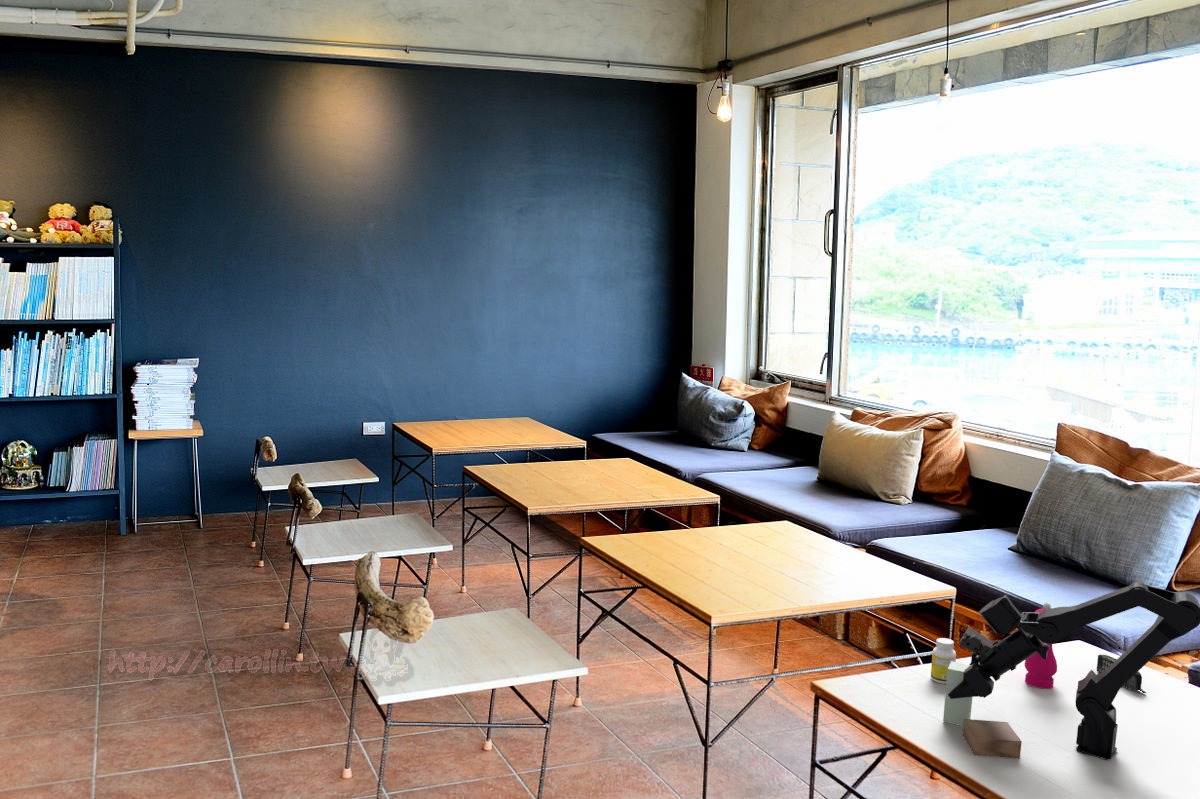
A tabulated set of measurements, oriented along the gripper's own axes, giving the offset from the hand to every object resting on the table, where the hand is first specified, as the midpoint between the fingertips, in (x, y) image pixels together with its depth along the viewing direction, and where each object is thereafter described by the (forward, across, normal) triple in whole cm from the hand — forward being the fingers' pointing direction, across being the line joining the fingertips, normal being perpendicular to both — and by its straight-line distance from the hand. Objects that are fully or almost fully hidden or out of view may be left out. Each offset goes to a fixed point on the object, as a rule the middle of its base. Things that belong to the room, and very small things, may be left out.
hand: (952, 689), depth 227 cm
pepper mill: (-6, -33, +16) cm, 37 cm away
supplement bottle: (+8, -22, +1) cm, 23 cm away
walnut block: (-2, +10, +12) cm, 15 cm away
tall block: (+4, 0, +6) cm, 7 cm away
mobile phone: (-18, -45, +28) cm, 56 cm away
